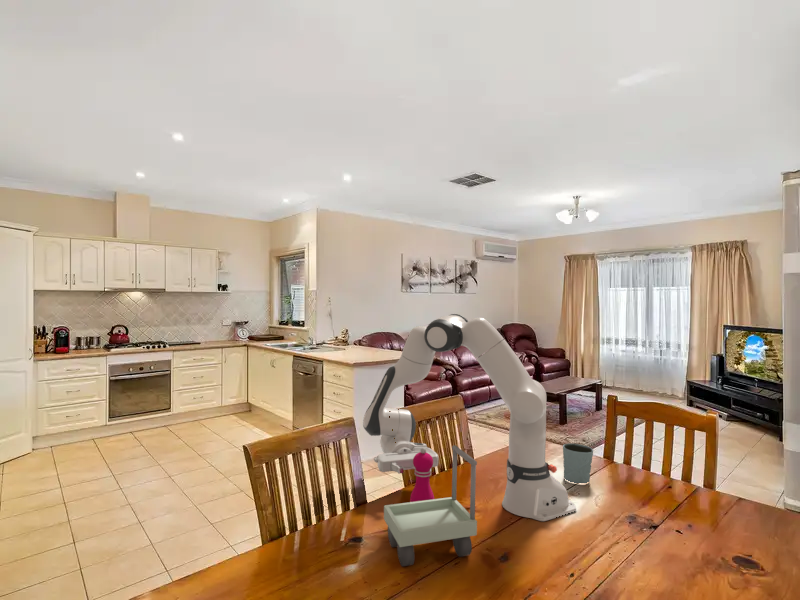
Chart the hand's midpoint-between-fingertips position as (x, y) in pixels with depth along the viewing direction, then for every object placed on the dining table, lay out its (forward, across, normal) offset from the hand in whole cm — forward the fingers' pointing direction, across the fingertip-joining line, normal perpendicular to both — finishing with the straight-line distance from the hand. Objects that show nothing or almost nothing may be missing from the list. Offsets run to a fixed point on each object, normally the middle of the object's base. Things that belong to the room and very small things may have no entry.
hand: (415, 469), depth 139 cm
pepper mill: (+7, 0, +11) cm, 13 cm away
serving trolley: (+25, -5, +11) cm, 28 cm away
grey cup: (-2, +63, +11) cm, 64 cm away
